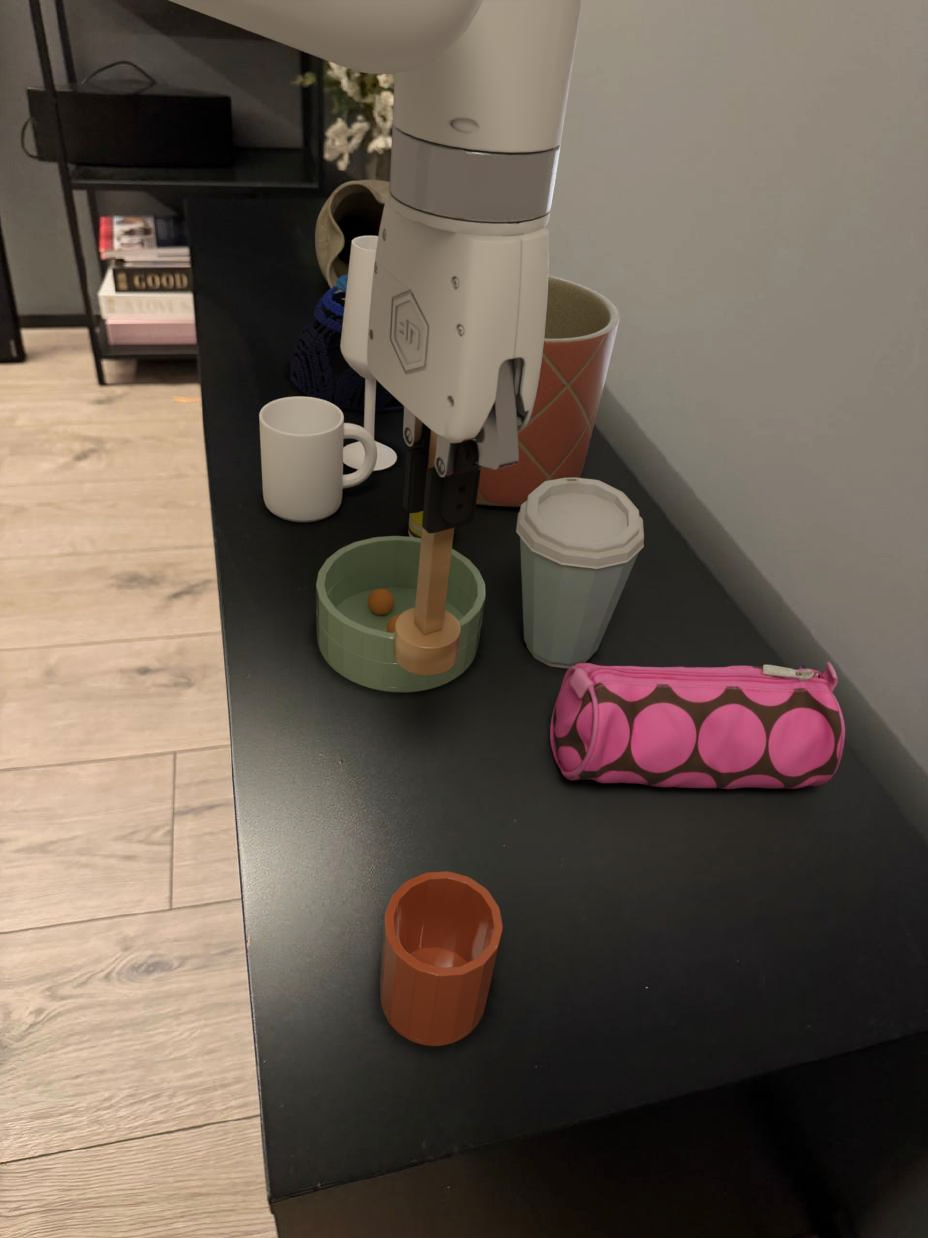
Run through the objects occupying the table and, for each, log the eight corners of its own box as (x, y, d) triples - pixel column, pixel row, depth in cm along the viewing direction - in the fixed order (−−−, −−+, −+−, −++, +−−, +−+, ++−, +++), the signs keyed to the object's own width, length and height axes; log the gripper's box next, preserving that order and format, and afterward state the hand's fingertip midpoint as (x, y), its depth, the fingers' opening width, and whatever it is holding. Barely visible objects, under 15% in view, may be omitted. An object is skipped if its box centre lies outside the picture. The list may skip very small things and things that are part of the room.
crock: (411, 1066, 54) (420, 996, 48) (361, 972, 58) (365, 898, 53) (506, 1015, 56) (524, 944, 51) (452, 929, 61) (464, 855, 56)
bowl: (360, 713, 75) (361, 658, 71) (291, 610, 84) (290, 557, 80) (508, 663, 81) (517, 611, 78) (430, 573, 91) (434, 522, 87)
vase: (268, 170, 148) (300, 171, 124) (396, 147, 153) (450, 144, 129) (299, 309, 158) (334, 334, 135) (418, 283, 163) (472, 304, 140)
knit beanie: (316, 419, 113) (316, 303, 103) (273, 351, 126) (269, 243, 117) (465, 402, 120) (477, 292, 111) (409, 340, 134) (415, 237, 124)
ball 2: (390, 631, 79) (376, 627, 81) (406, 650, 80) (391, 645, 82) (408, 611, 80) (394, 608, 82) (423, 630, 81) (409, 626, 83)
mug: (367, 477, 103) (370, 392, 97) (384, 518, 97) (388, 430, 91) (258, 485, 100) (254, 397, 93) (269, 528, 94) (265, 437, 87)
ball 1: (371, 622, 84) (371, 606, 82) (364, 602, 85) (364, 585, 83) (396, 617, 84) (397, 601, 82) (389, 597, 85) (390, 581, 84)
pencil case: (780, 717, 80) (819, 628, 73) (827, 806, 72) (875, 716, 66) (538, 721, 76) (557, 629, 70) (561, 815, 69) (585, 721, 63)
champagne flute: (406, 464, 106) (420, 252, 91) (353, 475, 103) (358, 257, 88) (382, 437, 111) (391, 230, 95) (329, 446, 108) (330, 234, 93)
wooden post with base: (412, 683, 58) (434, 454, 48) (381, 644, 61) (395, 418, 51) (469, 664, 60) (501, 440, 50) (436, 627, 63) (461, 406, 52)
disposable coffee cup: (628, 684, 81) (669, 544, 71) (509, 689, 79) (534, 545, 69) (597, 608, 89) (629, 472, 79) (487, 610, 87) (507, 472, 77)
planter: (606, 515, 102) (646, 342, 89) (438, 521, 98) (455, 340, 85) (558, 431, 116) (587, 271, 104) (409, 433, 112) (420, 267, 99)
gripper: (324, 135, 45) (322, 464, 57) (496, 238, 35) (451, 610, 47) (455, 132, 49) (427, 443, 60) (644, 225, 39) (568, 575, 50)
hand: (438, 514), depth 54 cm, fingers closed on wooden post with base, 1 cm apart
